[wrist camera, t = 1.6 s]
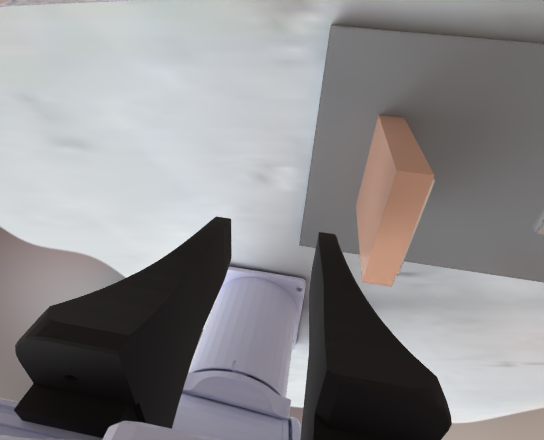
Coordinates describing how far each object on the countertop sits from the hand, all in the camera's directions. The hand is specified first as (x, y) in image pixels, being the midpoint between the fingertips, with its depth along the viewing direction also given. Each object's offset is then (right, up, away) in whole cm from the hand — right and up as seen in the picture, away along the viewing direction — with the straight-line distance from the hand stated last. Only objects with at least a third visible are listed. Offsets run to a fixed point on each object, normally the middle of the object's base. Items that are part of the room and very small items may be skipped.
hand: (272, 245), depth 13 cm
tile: (+6, +4, +7) cm, 10 cm away
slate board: (+11, +4, +7) cm, 14 cm away
